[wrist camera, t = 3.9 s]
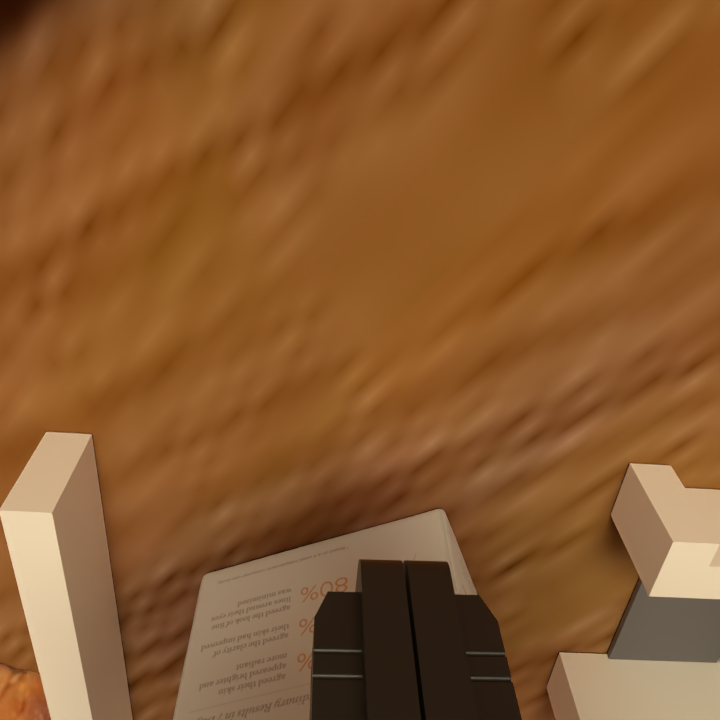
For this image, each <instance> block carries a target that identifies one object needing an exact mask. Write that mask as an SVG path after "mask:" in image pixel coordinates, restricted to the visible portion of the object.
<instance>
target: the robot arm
mask: <svg viewBox="0 0 720 720" xmlns="http://www.w3.org/2000/svg"><path fill="white" fill-rule="evenodd" d="M309 720H522V719H521V715H520V710H519V706H518V702H517V698H516V694H515V690H514V686H513V683H511V674H510V670H509V666H508V662H507V658H506V657H505V650H504V646H503V642H502V638H501V634H500V629H499V625H498V621H497V620H496V618H495V617H494V616H493V614H492V613H491V611H490V610H489V609H488V607H487V606H486V604H485V603H484V602H483V600H482V599H481V597H480V596H479V595H460V594H455V592H454V587H453V582H452V576H451V571H450V567H449V564H448V562H446V561H415V560H404V562H403V563H402V561H401V560H372V559H359V562H358V569H357V579H356V588H355V592H332V591H328V592H327V594H326V596H325V598H324V600H323V602H322V603H321V605H320V607H319V609H318V611H317V613H316V615H315V617H314V631H313V647H312V663H311V682H310V714H309Z"/></svg>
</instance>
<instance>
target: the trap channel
mask: <svg viewBox="0 0 720 720" xmlns="http://www.w3.org/2000/svg"><path fill="white" fill-rule="evenodd" d="M0 516H1V520H2V524H3V528H4V532H5V536H6V540H7V544H8V548H9V552H10V556H11V560H12V564H13V568H14V572H15V576H16V580H17V584H18V588H19V593H20V597H21V601H22V605H23V609H24V613H25V617H26V621H27V625H28V629H29V633H30V637H31V641H32V645H33V649H34V653H35V657H36V661H37V665H38V669H39V673H40V677H41V681H42V685H43V689H44V693H45V697H46V701H47V705H48V709H49V713H50V717H51V720H133V717H132V710H131V703H130V696H129V689H128V683H127V676H126V669H125V662H124V655H123V648H122V641H121V634H120V627H119V620H118V613H117V606H116V599H115V592H114V585H113V578H112V571H111V564H110V557H109V550H108V543H107V536H106V529H105V522H104V515H103V508H102V501H101V494H100V487H99V481H98V474H97V467H96V460H95V453H94V446H93V439H92V434H78V433H59V432H46V433H45V435H44V437H43V438H42V440H41V442H40V443H39V445H38V447H37V448H36V450H35V452H34V453H33V455H32V457H31V458H30V460H29V462H28V463H27V465H26V467H25V468H24V470H23V472H22V473H21V475H20V476H19V478H18V480H17V481H16V483H15V485H14V486H13V488H12V490H11V491H10V493H9V495H8V496H7V498H6V500H5V501H4V503H3V505H2V506H1V508H0ZM611 517H612V519H613V521H614V523H615V526H616V528H617V530H618V532H619V534H620V536H621V538H622V540H623V543H624V545H625V547H626V549H627V551H628V553H629V555H630V557H631V560H632V562H633V564H634V566H635V568H636V570H637V572H638V575H639V577H640V578H639V580H638V583H637V585H636V587H635V590H634V592H633V594H632V597H631V599H630V601H629V604H628V606H627V608H626V611H625V613H624V615H623V618H622V620H621V622H620V625H619V627H618V629H617V632H616V634H615V636H614V639H613V641H612V643H611V646H610V648H609V650H608V653H607V654H592V653H564V652H559V655H558V657H557V660H556V663H555V665H554V668H553V671H552V673H551V676H550V679H549V682H548V684H547V687H546V688H547V691H548V695H549V699H550V702H551V706H552V709H553V713H554V717H555V720H720V490H715V489H696V488H684V486H683V484H682V483H681V481H680V480H679V478H678V477H677V475H676V473H675V472H674V470H673V469H672V467H671V466H670V465H652V464H633V463H630V464H629V467H628V470H627V472H626V475H625V478H624V480H623V483H622V486H621V488H620V491H619V494H618V496H617V499H616V502H615V505H614V507H613V510H612V513H611Z"/></svg>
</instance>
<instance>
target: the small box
mask: <svg viewBox="0 0 720 720" xmlns="http://www.w3.org/2000/svg"><path fill="white" fill-rule="evenodd" d="M359 559H372V560H401V561H402V563H403V562H404V560H415V561H446V562H448V564H449V567H450V571H451V576H452V582H453V587H454V592H455V594H460V595H477V592H476V590H475V587H474V584H473V582H472V579H471V577H470V574H469V572H468V569H467V566H466V564H465V561H464V559H463V556H462V553H461V551H460V548H459V546H458V543H457V541H456V538H455V535H454V533H453V531H452V528H451V526H450V523H449V521H448V519H447V516H446V514H445V512H444V510H442V509H435V510H432V511H428V512H425V513H421V514H418V515H414V516H411V517H407V518H404V519H400V520H397V521H393V522H389V523H386V524H382V525H379V526H375V527H371V528H368V529H364V530H361V531H357V532H353V533H350V534H346V535H342V536H339V537H335V538H332V539H328V540H324V541H321V542H317V543H314V544H310V545H306V546H303V547H299V548H296V549H292V550H288V551H285V552H281V553H278V554H274V555H271V556H267V557H264V558H261V559H257V560H253V561H249V562H246V563H243V564H239V565H236V566H232V567H228V568H225V569H221V570H218V571H214V572H210V573H207V574H205V575H204V577H203V578H202V581H201V585H200V590H199V595H198V600H197V605H196V610H195V615H194V619H193V624H192V629H191V634H190V639H189V644H188V649H187V654H186V658H185V663H184V668H183V672H182V677H181V682H180V686H179V692H178V697H177V701H176V706H175V711H174V717H173V720H309V714H310V682H311V663H312V647H313V631H314V617H315V615H316V613H317V611H318V609H319V607H320V605H321V603H322V602H323V600H324V598H325V596H326V594H327V592H328V591H332V592H355V588H356V579H357V569H358V562H359Z"/></svg>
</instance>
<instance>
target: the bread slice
mask: <svg viewBox="0 0 720 720" xmlns="http://www.w3.org/2000/svg"><path fill="white" fill-rule="evenodd" d="M0 720H51V717H50V713H49V709H48V705H47V701H46V697H45V693H44V689H43V685H42V681H41V677H40V674H39V673H36V672H33V671H27V670H21V669H16V668H13V667H10V666H8V665H5V664H2V663H0Z"/></svg>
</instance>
